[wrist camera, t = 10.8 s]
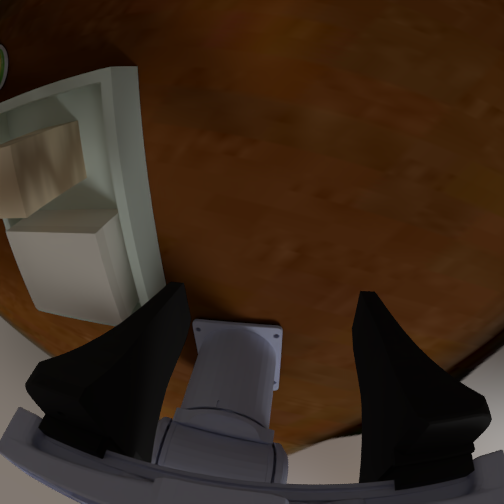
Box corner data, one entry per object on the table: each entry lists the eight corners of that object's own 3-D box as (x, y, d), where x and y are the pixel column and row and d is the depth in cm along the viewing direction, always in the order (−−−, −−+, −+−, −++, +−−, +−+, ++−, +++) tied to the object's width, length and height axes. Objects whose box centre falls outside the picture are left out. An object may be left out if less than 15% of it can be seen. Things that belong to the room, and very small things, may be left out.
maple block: (87, 177, 21) (27, 217, 15) (47, 181, 22) (-11, 219, 16) (78, 120, 19) (9, 145, 13) (37, 129, 19) (-27, 156, 13)
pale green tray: (170, 305, 28) (157, 332, 25) (55, 290, 29) (38, 310, 26) (137, 66, 18) (110, 66, 15) (8, 103, 19) (-20, 112, 16)
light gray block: (142, 294, 26) (123, 325, 23) (58, 284, 27) (36, 308, 24) (122, 208, 22) (95, 233, 19) (33, 210, 23) (5, 231, 20)
